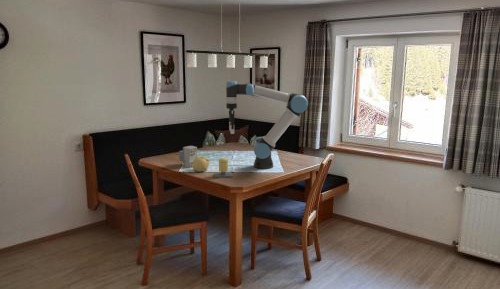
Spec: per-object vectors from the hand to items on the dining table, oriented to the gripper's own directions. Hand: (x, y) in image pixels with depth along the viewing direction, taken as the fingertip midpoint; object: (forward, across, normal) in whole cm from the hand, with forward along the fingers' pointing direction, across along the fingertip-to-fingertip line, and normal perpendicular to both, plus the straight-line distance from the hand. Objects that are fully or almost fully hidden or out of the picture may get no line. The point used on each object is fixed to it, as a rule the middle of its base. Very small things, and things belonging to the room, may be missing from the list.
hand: (231, 132), depth 280 cm
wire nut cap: (+25, +14, -7) cm, 30 cm away
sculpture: (+29, 0, -23) cm, 37 cm away
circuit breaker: (+29, -16, -33) cm, 47 cm away
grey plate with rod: (+29, +14, -7) cm, 33 cm away
